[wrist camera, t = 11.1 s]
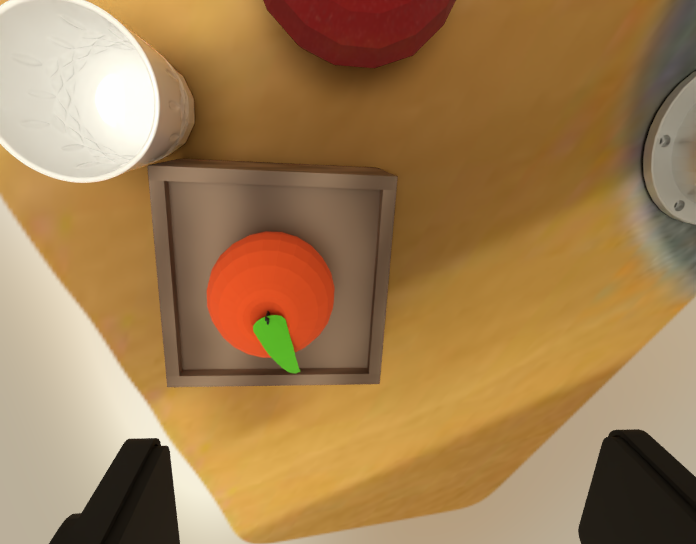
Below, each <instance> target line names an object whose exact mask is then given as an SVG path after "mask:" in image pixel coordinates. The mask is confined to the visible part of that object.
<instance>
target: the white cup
mask: <svg viewBox="0 0 696 544" xmlns="http://www.w3.org/2000/svg"><path fill="white" fill-rule="evenodd" d="M194 124H195V114H194V98H193V96H192V94H191V92H190V90H189V88H188V85H187V83H186V81H185V79H184V77H183V76H182V75H181V74H180V73H179V72H178V71H177V70H176V69H175V68H174V67H172V66H171V65H170V63H169V62H168V61H167V60H166V59H165V58H164V57H163V56H162V55H161V54H160V53H158V52H157V51H156V50H155V49H154V48H153V47H151V46H150V45H149V44H148V43H147V42H146V41H144V40H143V39H142V38H140V37H139V36H138V35H136V34H135V33H134V32H132V31H131V30H130V29H128V28H127V27H126V26H124V25H123V24H122V23H121V22H119V21H118V20H117V19H115V18H114V17H113V16H111V15H110V14H109V13H107V12H106V11H104V10H103V9H101V8H99V7H98V6H96V5H94V4H92V3H90V2H88V1H85V0H9V1H7V2H5V3H3V4H2V5H0V144H1V145H2V146H3V147H4V148H5V149H6V150H7V151H8V152H9V153H10V154H12V155H13V156H14V157H15V158H17V159H18V160H19V161H21V162H22V163H24V164H25V165H27V166H28V167H30V168H32V169H34V170H36V171H38V172H40V173H42V174H44V175H47V176H49V177H52V178H56V179H59V180H64V181H69V182H78V183H89V182H98V181H103V180H107V179H110V178H113V177H116V176H119V175H121V174H124V173H127V172H130V171H133V170H136V169H139V168H141V167H144V166H147V165H149V164H151V163H154V162H156V161H158V160H160V159H162V158H164V157H166V156H169V155H170V154H171V153H173V152H174V151H175V150H177V149H178V148H180V147H181V146H182V145H184V144H185V143H186V141H187V139H188V137H189V134H190V132H191V130H192V128H193V126H194Z"/></svg>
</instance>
